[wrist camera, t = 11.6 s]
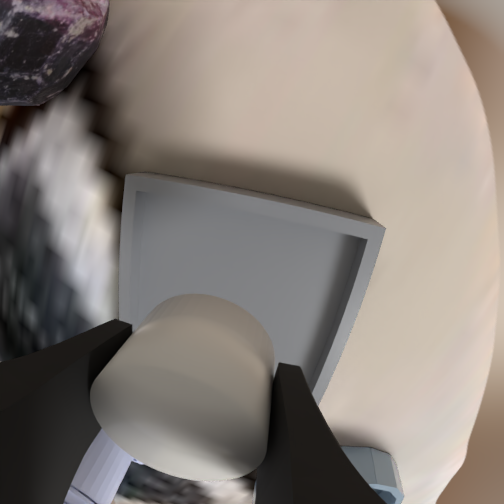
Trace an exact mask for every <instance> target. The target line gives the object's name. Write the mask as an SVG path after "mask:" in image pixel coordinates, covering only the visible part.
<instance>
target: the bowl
mask: <svg viewBox="0 0 504 504" xmlns="http://www.w3.org/2000/svg"><path fill="white" fill-rule="evenodd" d="M341 448H342V450H343V451H344V453H345V454H346V456H347V457H348V458H349V460H350V461H351V463H352V464H353V465H354V467H355V468H356V469H357V471H358V472H359V473H360V475H361V476H362V477H363V478H364V479H365V481H366V482H367V483H368V484H369V485H370V487H371V488H372V489H373V490H374V491H375V492H376V493H377V494H378V495H379V496H380V497H381V498H382V499H383V500H384V501H385V502H386V503H387V504H401V503H402V500H403V498H404V493H403V488H402V484H401V480H400V475H399V471H398V467H397V464H396V462H395V461H394V460H393V458H392V457H391V455H390V454H388V453H385V452H382V451H379V450H376V449H374V448H371V447H348V446H341ZM256 482H257V479H256V481H255V486H254V493H253V500H252V504H255V498H256Z"/></svg>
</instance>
